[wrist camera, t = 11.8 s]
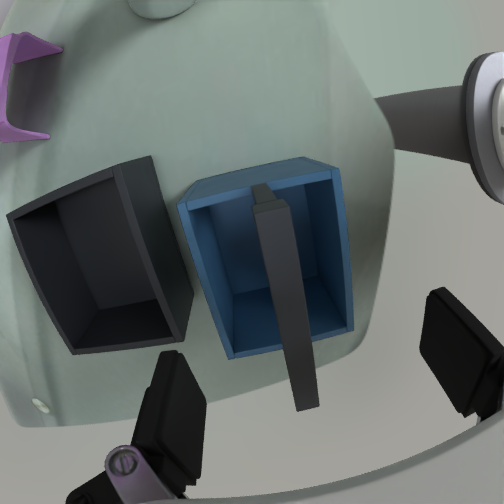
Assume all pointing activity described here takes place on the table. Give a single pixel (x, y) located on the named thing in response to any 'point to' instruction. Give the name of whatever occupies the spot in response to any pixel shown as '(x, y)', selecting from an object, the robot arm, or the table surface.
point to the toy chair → (3, 55)
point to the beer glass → (159, 7)
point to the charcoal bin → (106, 260)
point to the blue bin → (273, 261)
